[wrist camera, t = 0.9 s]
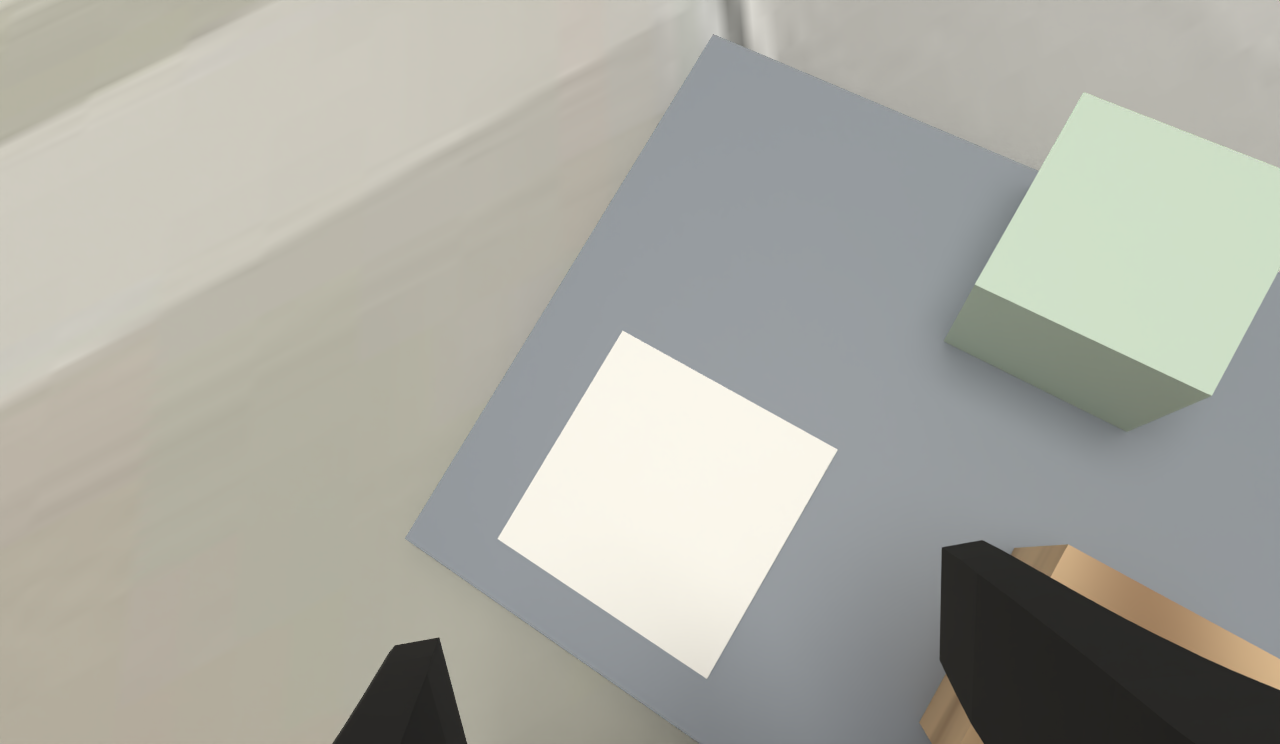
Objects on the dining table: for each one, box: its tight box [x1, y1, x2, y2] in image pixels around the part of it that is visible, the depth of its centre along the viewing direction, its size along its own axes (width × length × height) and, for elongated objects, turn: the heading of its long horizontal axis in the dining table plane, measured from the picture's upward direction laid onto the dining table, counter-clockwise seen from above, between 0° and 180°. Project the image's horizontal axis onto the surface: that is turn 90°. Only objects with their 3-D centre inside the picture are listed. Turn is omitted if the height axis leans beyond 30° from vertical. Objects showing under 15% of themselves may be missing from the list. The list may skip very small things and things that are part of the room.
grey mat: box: [405, 34, 1280, 744], centre depth 23 cm, size 22×18×1 cm
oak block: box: [919, 544, 1280, 744], centre depth 19 cm, size 5×5×5 cm
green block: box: [944, 92, 1280, 432], centre depth 20 cm, size 5×5×5 cm
